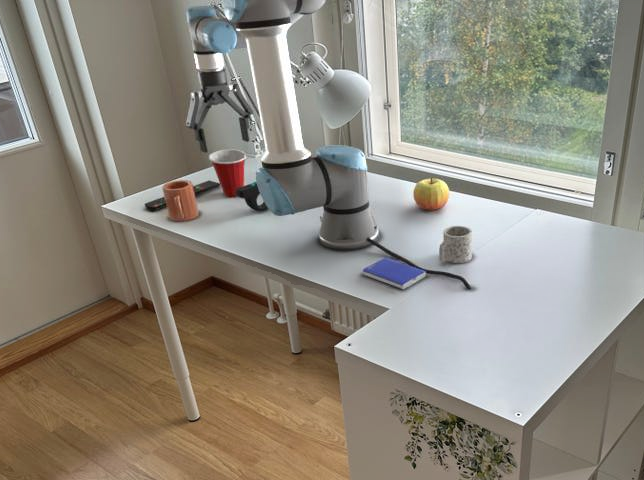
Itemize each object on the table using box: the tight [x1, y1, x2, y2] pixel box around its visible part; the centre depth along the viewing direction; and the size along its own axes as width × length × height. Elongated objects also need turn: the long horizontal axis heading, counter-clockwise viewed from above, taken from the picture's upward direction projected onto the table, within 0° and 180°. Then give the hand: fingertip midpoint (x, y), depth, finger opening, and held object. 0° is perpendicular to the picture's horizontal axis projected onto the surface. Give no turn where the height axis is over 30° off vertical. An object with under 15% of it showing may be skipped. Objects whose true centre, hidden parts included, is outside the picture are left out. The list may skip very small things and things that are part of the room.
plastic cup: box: [208, 148, 247, 198], centre depth 212 cm, size 11×11×12 cm
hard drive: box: [362, 257, 427, 290], centre depth 164 cm, size 2×8×12 cm
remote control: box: [144, 180, 221, 212], centre depth 213 cm, size 5×24×1 cm, turn 142°
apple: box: [413, 177, 450, 211], centre depth 197 cm, size 10×10×8 cm
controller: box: [235, 181, 269, 212], centre depth 200 cm, size 4×12×10 cm, turn 133°
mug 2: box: [438, 225, 473, 264], centre depth 169 cm, size 10×7×7 cm, turn 140°
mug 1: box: [161, 179, 199, 222], centre depth 198 cm, size 11×8×9 cm
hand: (225, 146), depth 207 cm, fingers open, 13 cm apart
